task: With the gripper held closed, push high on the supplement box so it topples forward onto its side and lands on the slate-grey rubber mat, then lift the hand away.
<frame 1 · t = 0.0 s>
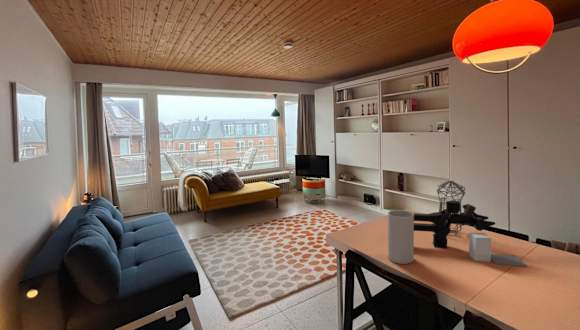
hand: (491, 220, 150), 17 cm above the table, tool horizontal, fingers open, 9 cm apart
supplement box: (479, 258, 142), on the table
cylinder vase: (400, 259, 145), on the table
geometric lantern: (449, 233, 176), on the table
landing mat: (505, 260, 139), on the table
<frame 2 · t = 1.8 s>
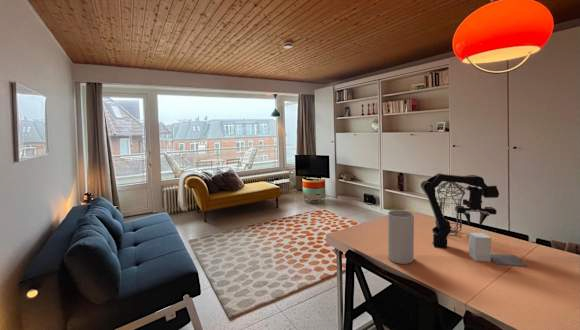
hand: (474, 224, 154), 13 cm above the table, tool pointing down, fingers open, 5 cm apart
nothing on the table moved.
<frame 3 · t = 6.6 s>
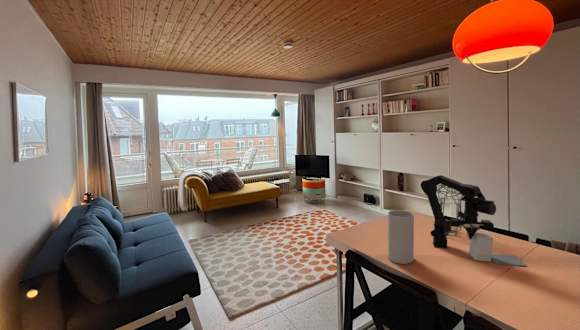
hand: (470, 239, 142), 10 cm above the table, tool pointing down, fingers closed
supplement box: (479, 258, 142), on the table, touching gripper
everything else where it was.
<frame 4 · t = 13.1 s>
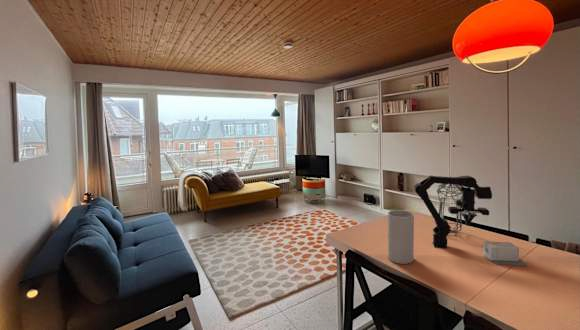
hand: (467, 225, 153), 13 cm above the table, tool pointing down, fingers closed
supplement box: (486, 250, 141), point 4 cm above the table, touching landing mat
everything else where it was.
at the end: supplement box tilted 90°; supplement box inside the target area (2.4 cm from its centre), point 4.2 cm above the table; supplement box touching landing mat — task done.
